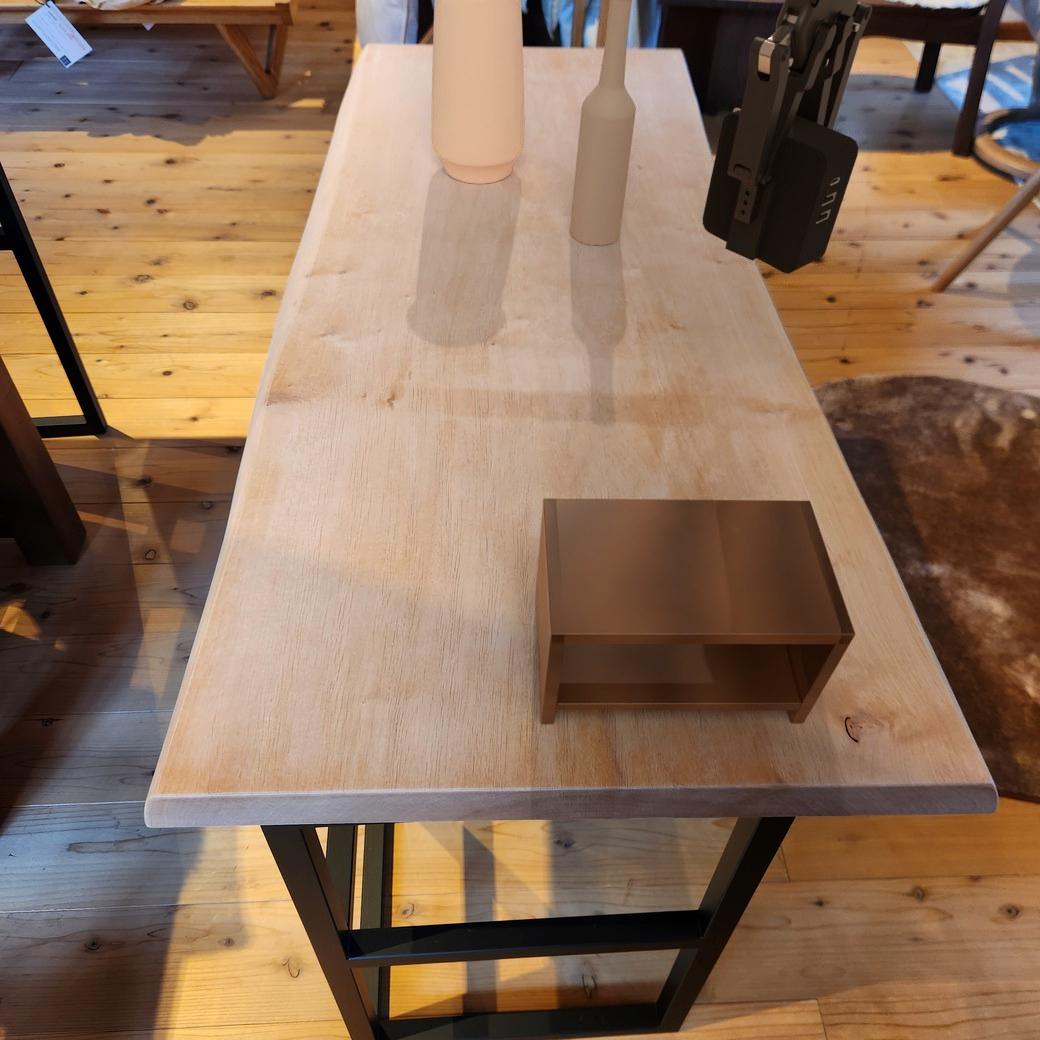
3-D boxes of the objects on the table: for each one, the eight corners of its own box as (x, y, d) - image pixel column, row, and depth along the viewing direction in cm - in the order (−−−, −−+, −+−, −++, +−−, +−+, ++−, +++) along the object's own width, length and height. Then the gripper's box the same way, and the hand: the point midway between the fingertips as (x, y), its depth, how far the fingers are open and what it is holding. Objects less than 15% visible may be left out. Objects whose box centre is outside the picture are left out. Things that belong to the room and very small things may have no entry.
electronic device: (791, 277, 69) (829, 155, 62) (699, 228, 74) (724, 109, 67) (822, 262, 71) (862, 141, 64) (730, 214, 76) (758, 98, 69)
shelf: (769, 596, 72) (810, 500, 63) (803, 723, 64) (856, 634, 55) (535, 595, 72) (543, 498, 63) (540, 724, 64) (550, 634, 55)
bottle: (571, 244, 109) (593, -1, 88) (568, 218, 113) (589, -21, 92) (622, 246, 109) (656, 2, 88) (617, 220, 113) (649, -19, 93)
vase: (523, 191, 118) (532, -43, 97) (429, 188, 117) (418, -48, 97) (523, 148, 126) (531, -75, 106) (435, 145, 126) (427, -79, 105)
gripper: (854, -118, 61) (773, 191, 79) (721, -75, 52) (661, 263, 70) (954, -97, 58) (846, 220, 75) (830, -47, 49) (739, 300, 66)
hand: (758, 240), depth 73 cm, fingers closed on electronic device, 5 cm apart
